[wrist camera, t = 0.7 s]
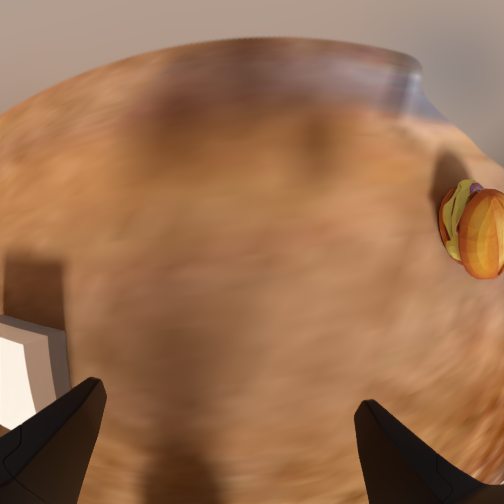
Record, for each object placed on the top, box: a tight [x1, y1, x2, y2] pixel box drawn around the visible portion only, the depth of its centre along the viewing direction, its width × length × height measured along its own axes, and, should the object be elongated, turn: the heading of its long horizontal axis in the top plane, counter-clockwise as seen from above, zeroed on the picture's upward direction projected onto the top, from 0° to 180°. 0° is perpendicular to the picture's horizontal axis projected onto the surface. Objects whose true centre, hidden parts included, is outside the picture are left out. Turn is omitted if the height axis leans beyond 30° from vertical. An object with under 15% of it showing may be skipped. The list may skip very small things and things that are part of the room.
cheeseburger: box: [439, 179, 504, 279], centre depth 22 cm, size 10×11×10 cm
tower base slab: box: [0, 314, 71, 400], centre depth 17 cm, size 9×9×4 cm
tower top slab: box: [0, 323, 56, 430], centre depth 14 cm, size 9×9×4 cm
